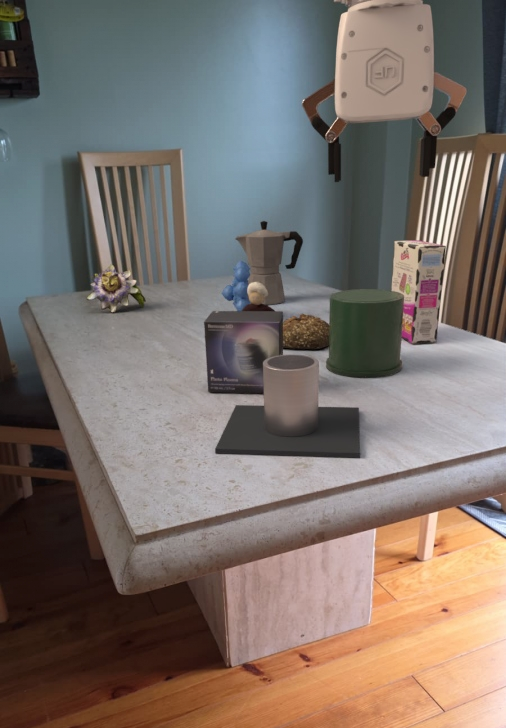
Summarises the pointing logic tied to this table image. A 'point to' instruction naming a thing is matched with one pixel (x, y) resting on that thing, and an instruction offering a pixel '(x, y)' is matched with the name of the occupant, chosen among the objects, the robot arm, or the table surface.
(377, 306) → the green flanged canister
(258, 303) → the grandmother figurine
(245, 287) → the grapes
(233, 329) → the small box
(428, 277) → the candy bar box
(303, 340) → the bread roll
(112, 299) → the passion flower
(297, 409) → the steel cup
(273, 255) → the coffeepot
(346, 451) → the mat
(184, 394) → the table surface
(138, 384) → the table surface
